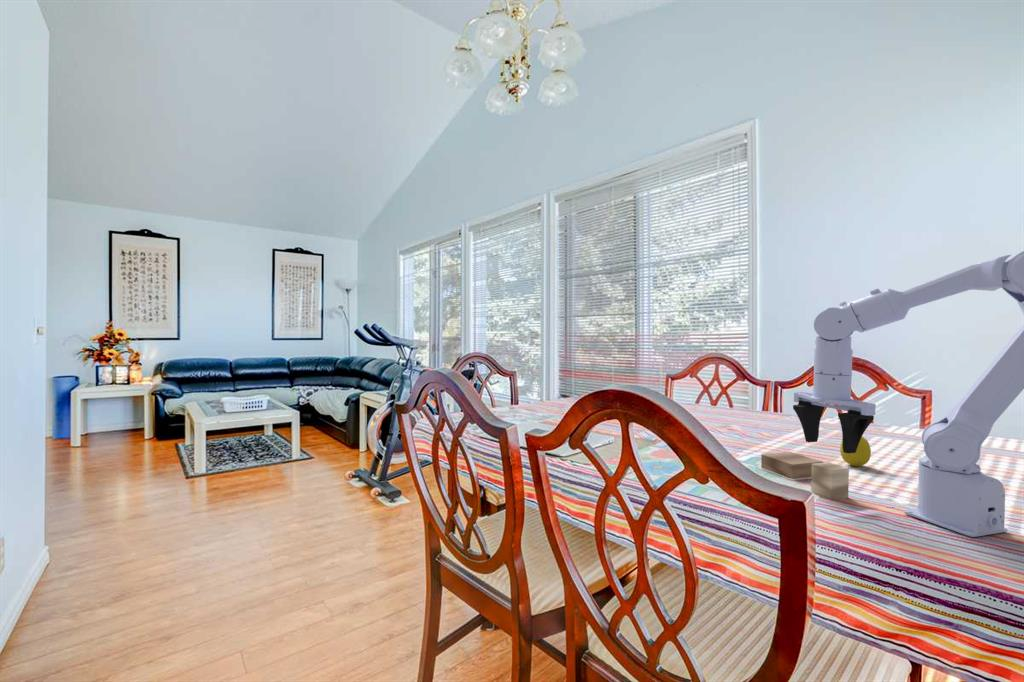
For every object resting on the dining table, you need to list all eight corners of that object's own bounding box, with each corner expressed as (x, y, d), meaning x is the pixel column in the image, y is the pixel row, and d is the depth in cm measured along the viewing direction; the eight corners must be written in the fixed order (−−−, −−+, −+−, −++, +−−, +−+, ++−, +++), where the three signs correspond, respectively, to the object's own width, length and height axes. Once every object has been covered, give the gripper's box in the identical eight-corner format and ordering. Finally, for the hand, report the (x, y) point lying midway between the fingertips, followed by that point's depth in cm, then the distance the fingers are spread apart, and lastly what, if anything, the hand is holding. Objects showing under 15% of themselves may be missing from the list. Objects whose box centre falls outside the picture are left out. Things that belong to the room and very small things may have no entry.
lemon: (871, 473, 98) (871, 437, 98) (839, 468, 101) (840, 433, 101) (870, 467, 102) (870, 432, 102) (840, 463, 106) (840, 429, 106)
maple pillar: (848, 501, 82) (848, 468, 82) (831, 503, 81) (831, 470, 81) (827, 493, 86) (828, 462, 86) (811, 495, 85) (811, 463, 85)
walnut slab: (822, 475, 94) (822, 461, 94) (792, 478, 92) (792, 464, 92) (790, 465, 102) (790, 451, 102) (761, 467, 100) (761, 454, 100)
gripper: (782, 370, 89) (779, 438, 89) (853, 378, 75) (850, 459, 75) (810, 370, 91) (808, 436, 91) (886, 378, 77) (883, 457, 77)
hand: (829, 446), depth 83 cm, fingers open, 7 cm apart
